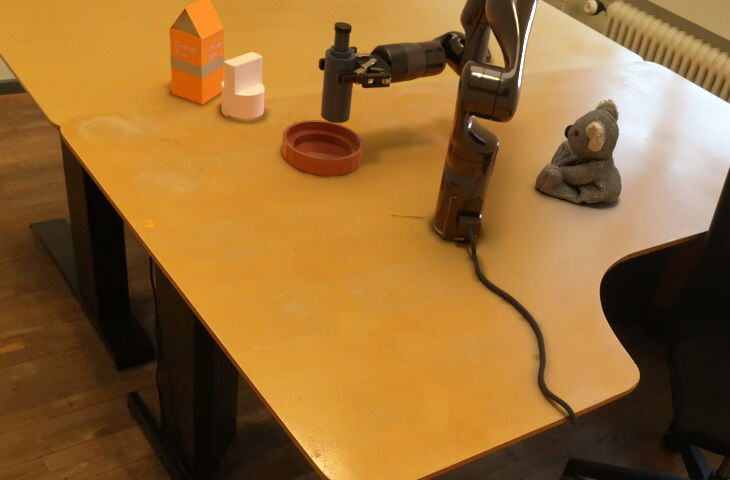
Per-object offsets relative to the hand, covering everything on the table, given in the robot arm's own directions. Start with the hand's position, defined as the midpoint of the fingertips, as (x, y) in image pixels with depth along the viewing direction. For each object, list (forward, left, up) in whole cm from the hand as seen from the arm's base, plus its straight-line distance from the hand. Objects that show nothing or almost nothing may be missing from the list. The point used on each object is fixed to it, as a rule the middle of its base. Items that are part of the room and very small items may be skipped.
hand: (328, 71), depth 161 cm
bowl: (+1, 0, -19) cm, 20 cm away
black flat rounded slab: (+71, -43, -19) cm, 85 cm away
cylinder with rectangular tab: (+18, +17, -20) cm, 32 cm away
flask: (+1, -2, -10) cm, 10 cm away
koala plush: (-1, -57, -20) cm, 60 cm away
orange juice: (+25, +27, -20) cm, 42 cm away
